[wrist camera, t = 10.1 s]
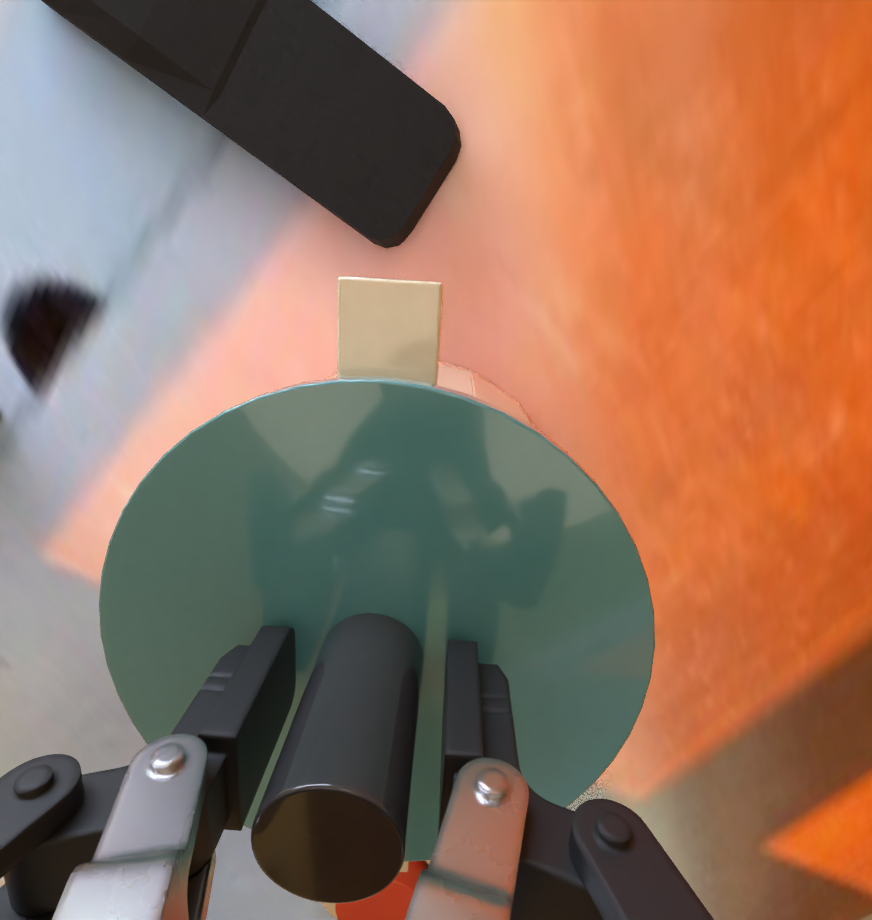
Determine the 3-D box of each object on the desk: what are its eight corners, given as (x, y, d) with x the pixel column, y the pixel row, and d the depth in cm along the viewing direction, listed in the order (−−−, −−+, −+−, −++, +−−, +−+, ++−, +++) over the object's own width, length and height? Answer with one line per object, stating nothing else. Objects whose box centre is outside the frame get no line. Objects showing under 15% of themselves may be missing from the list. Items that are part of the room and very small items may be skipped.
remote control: (471, 140, 20) (83, -169, 17) (474, 126, 18) (44, -218, 15) (395, 258, 21) (24, -12, 18) (392, 257, 19) (-18, -41, 17)
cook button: (431, 843, 25) (429, 883, 23) (426, 906, 26) (424, 948, 24) (343, 836, 25) (334, 875, 23) (342, 899, 26) (334, 940, 24)
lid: (686, 391, 13) (884, 476, 7) (599, 842, 17) (675, 1139, 11) (95, 353, 13) (-207, 403, 7) (150, 805, 17) (-12, 1076, 11)
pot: (586, 295, 21) (686, 296, 12) (533, 694, 26) (573, 910, 17) (251, 274, 21) (91, 260, 12) (266, 674, 26) (164, 876, 17)
